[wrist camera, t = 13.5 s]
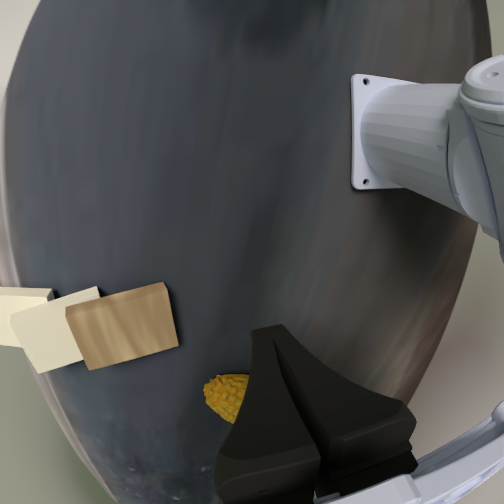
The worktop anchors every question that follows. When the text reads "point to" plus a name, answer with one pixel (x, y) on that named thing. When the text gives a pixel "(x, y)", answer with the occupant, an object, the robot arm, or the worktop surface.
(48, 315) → the domino
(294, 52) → the worktop surface
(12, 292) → the domino
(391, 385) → the worktop surface
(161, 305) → the domino
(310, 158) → the worktop surface
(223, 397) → the food
